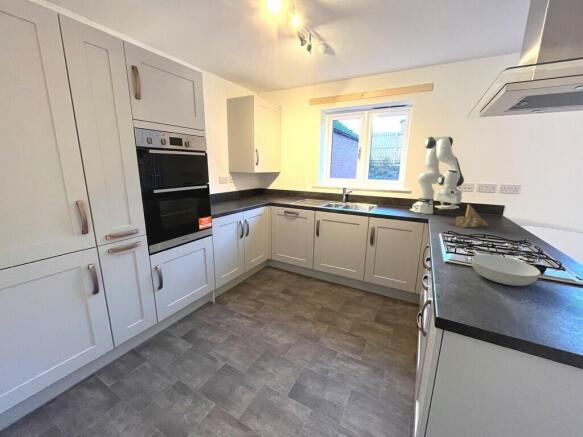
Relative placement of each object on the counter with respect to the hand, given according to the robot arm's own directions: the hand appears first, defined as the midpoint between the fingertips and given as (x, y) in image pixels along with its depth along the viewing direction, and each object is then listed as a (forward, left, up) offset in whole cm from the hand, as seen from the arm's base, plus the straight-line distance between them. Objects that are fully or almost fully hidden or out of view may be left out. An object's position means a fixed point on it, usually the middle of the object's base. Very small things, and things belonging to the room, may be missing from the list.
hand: (446, 207), depth 194 cm
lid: (0, 0, 0) cm, 0 cm away
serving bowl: (+90, -63, -12) cm, 110 cm away
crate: (+14, +7, -12) cm, 19 cm away
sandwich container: (+8, +24, -12) cm, 28 cm away
